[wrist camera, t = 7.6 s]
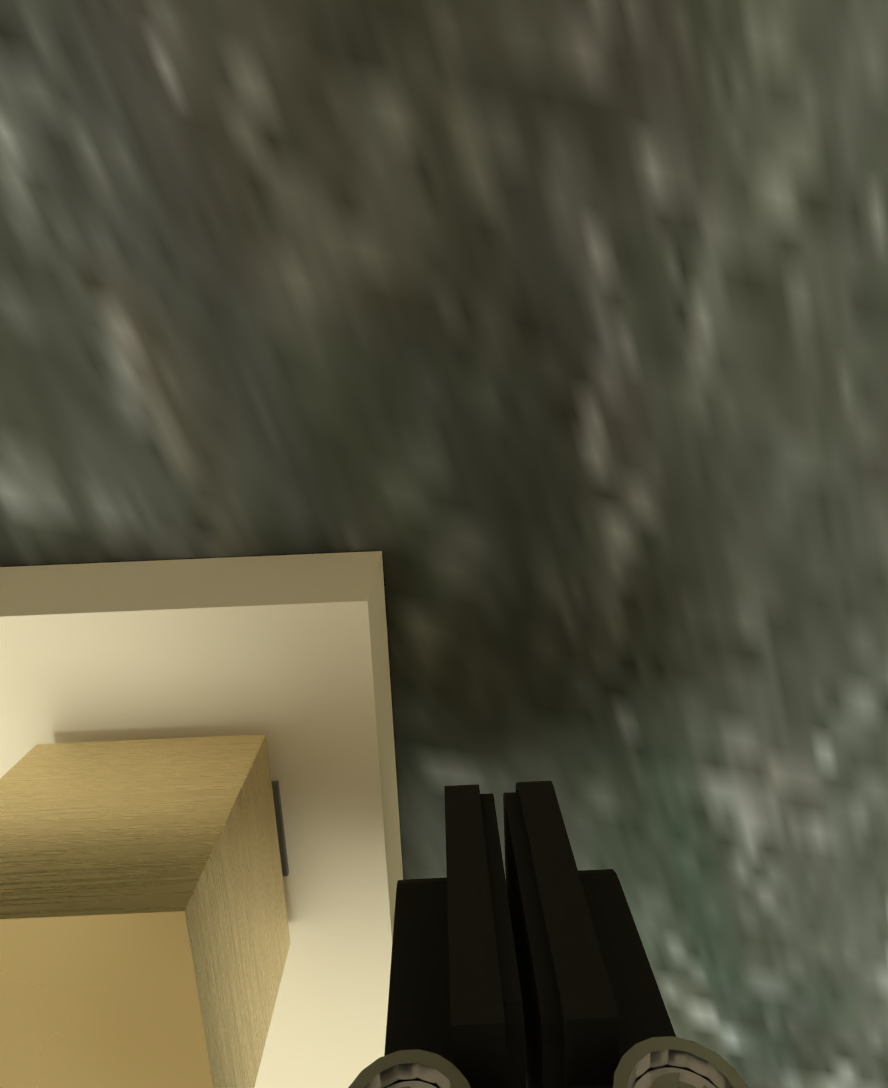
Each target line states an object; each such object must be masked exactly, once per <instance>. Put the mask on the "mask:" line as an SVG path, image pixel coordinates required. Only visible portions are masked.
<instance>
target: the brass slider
mask: <svg viewBox="0 0 888 1088" xmlns="http://www.w3.org/2000/svg"><path fill="white" fill-rule="evenodd" d="M289 946H290V935H289V926H288V918H287V909H286V901H285V892H284V884H283V875H282V867H281V858H280V850H279V841H278V833H277V824H276V816H275V807H274V799H273V790H272V782H271V773H270V765H269V756H268V748H267V739H266V734H259V735H236V736H213V737H190V738H167V739H144V740H121V741H98V742H75V743H52V744H36V745H35V746H34V747H33V748H32V749H31V750H30V751H29V752H28V753H27V754H26V755H25V756H24V757H23V758H22V759H21V760H19V761H18V762H17V763H16V764H15V765H14V766H13V767H12V768H11V769H10V770H9V771H8V772H7V773H6V774H5V775H4V776H3V777H1V778H0V1088H254V1087H255V1083H256V1079H257V1075H258V1071H259V1067H260V1063H261V1059H262V1055H263V1051H264V1047H265V1043H266V1038H267V1034H268V1030H269V1026H270V1022H271V1018H272V1014H273V1010H274V1006H275V1002H276V998H277V994H278V990H279V986H280V982H281V978H282V974H283V970H284V966H285V962H286V958H287V954H288V950H289Z"/></svg>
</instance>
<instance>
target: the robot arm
mask: <svg viewBox="0 0 888 1088" xmlns="http://www.w3.org/2000/svg"><path fill="white" fill-rule="evenodd" d="M503 801H504V835H505V869H506V881H505V874H504V867H503V860H502V853H501V846H500V839H499V832H498V825H497V817H496V810H495V803H494V796H493V794H480V790H479V784H478V785H459V786H445V821H446V859H447V878H431V879H412V880H398V882H397V888H396V900H395V914H394V928H393V942H392V955H391V969H390V983H389V997H388V1011H387V1025H386V1039H385V1053H384V1056H383V1057H380V1058H378V1059H377V1060H375V1061H374V1062H373V1063H371V1064H370V1065H369V1066H367V1067H366V1068H365V1069H363V1070H362V1071H361V1072H360V1073H359V1075H358V1076H357V1077H356V1078H355V1080H354V1081H353V1082H352V1084H351V1085H350V1086H349V1087H348V1088H749V1087H748V1085H747V1084H746V1083H745V1081H744V1080H743V1079H742V1077H741V1076H740V1075H739V1073H738V1072H737V1071H736V1069H735V1068H734V1067H732V1066H731V1065H730V1064H729V1063H728V1062H727V1061H725V1060H724V1059H723V1058H722V1057H721V1056H719V1055H718V1054H717V1053H716V1052H714V1051H712V1050H710V1049H708V1048H706V1047H704V1046H702V1045H700V1044H699V1043H697V1042H695V1041H691V1040H687V1039H682V1038H678V1037H676V1035H675V1033H674V1030H673V1027H672V1024H671V1022H670V1019H669V1016H668V1013H667V1011H666V1008H665V1005H664V1002H663V1000H662V997H661V994H660V991H659V989H658V986H657V983H656V980H655V978H654V975H653V972H652V969H651V967H650V964H649V961H648V958H647V956H646V953H645V950H644V947H643V945H642V942H641V939H640V936H639V934H638V931H637V928H636V925H635V923H634V920H633V917H632V914H631V912H630V909H629V906H628V903H627V901H626V898H625V895H624V892H623V890H622V887H621V884H620V881H619V879H618V877H617V875H616V873H615V871H614V870H613V869H606V870H587V871H578V870H577V867H576V863H575V860H574V856H573V853H572V849H571V846H570V842H569V839H568V835H567V832H566V828H565V825H564V821H563V818H562V815H561V811H560V808H559V804H558V801H557V797H556V794H555V790H554V787H553V784H552V782H551V781H537V782H518V783H516V792H513V793H504V796H503Z"/></svg>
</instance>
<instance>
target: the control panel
mask: <svg viewBox="0 0 888 1088" xmlns="http://www.w3.org/2000/svg"><path fill="white" fill-rule="evenodd" d="M259 734H266V739H267V748H268V756H269V765H270V773H271V782H272V790H273V799H274V807H275V816H276V824H277V833H278V841H279V850H280V858H281V867H282V875H283V884H284V892H285V901H286V909H287V918H288V926H289V935H290V946H289V950H288V954H287V958H286V962H285V966H284V970H283V974H282V978H281V982H280V986H279V990H278V994H277V998H276V1002H275V1006H274V1010H273V1014H272V1018H271V1022H270V1026H269V1030H268V1034H267V1038H266V1043H265V1047H264V1051H263V1055H262V1059H261V1063H260V1067H259V1071H258V1075H257V1079H256V1083H255V1087H254V1088H348V1087H349V1086H350V1085H351V1084H352V1082H353V1081H354V1080H355V1078H356V1077H357V1076H358V1075H359V1073H360V1072H361V1071H362V1070H363V1069H365V1068H366V1067H367V1066H369V1065H370V1064H371V1063H373V1062H374V1061H375V1060H377V1059H378V1058H380V1057H383V1056H384V1053H385V1039H386V1025H387V1011H388V997H389V983H390V969H391V955H392V942H393V928H394V914H395V900H396V888H397V882H398V880H403V869H402V853H401V838H400V823H399V807H398V792H397V776H396V761H395V746H394V730H393V715H392V700H391V684H390V669H389V653H388V638H387V623H386V607H385V592H384V577H383V561H382V551H371V552H347V553H323V554H300V555H276V556H253V557H229V558H206V559H182V560H158V561H135V562H111V563H88V564H64V565H40V566H17V567H0V778H1V777H3V776H4V775H5V774H6V773H7V772H8V771H9V770H10V769H11V768H12V767H13V766H14V765H15V764H16V763H17V762H18V761H19V760H21V759H22V758H23V757H24V756H25V755H26V754H27V753H28V752H29V751H30V750H31V749H32V748H33V747H34V746H35V745H36V744H52V743H75V742H98V741H121V740H144V739H167V738H190V737H213V736H236V735H259Z"/></svg>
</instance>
